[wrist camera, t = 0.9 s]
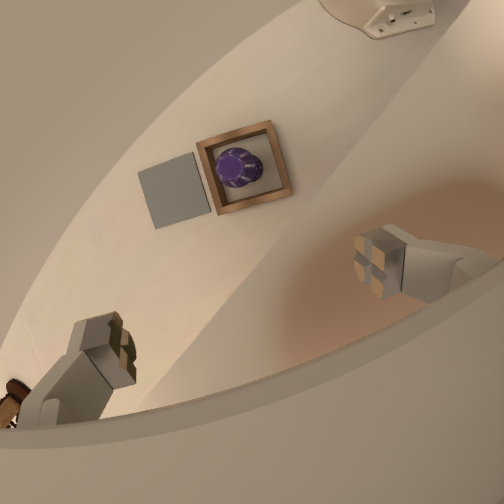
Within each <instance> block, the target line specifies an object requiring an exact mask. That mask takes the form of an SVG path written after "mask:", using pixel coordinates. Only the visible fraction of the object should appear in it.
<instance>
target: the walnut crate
mask: <svg viewBox="0 0 504 504" xmlns="http://www.w3.org/2000/svg"><path fill="white" fill-rule="evenodd" d="M266 132H267V134H268V138H269V141H270V144H271V147H272V151H273V154H274V157H275V161H276V164H277V167H278V171H279V174H280V178H281V181H282V185H283V188H280V189H276V190H272V191H269V192H265V193H262V194H258V195H255V196H251V197H248V198H244V199H241V200H237V201H234V202H230V203H228V202H227V199H226V195H225V192H224V189H223V185H222V182H221V181H220V180H219V178H218V177H217V174H216V170H215V166H216V163H215V159H214V156H213V153H212V149H214V148H217V147H220V146H223V145H226V144H229V143H232V142H236V141H239V140H242V139H246V138H249V137H252V136H256V135H259V134H263V133H266ZM196 146H197V149H198V152H199V156H200V159H201V162H202V166H203V169H204V172H205V175H206V179H207V182H208V185H209V188H210V192H211V195H212V198H213V201H214V205H215V208H216V211H217V214H218V216H219V215H223V214H226V213H229V212H233V211H236V210H240V209H243V208H247V207H250V206H254V205H257V204H261V203H264V202H268V201H272V200H275V199H279V198H283V197H286V196H290V195H293V193H292V189H291V186H290V182H289V179H288V175H287V172H286V168H285V165H284V161H283V158H282V155H281V151H280V148H279V145H278V141H277V138H276V135H275V132H274V128H273V125H272V122H271V120H268V121H264V122H260V123H257V124H253V125H250V126H247V127H243V128H240V129H237V130H233V131H230V132H227V133H224V134H221V135H218V136H215V137H212V138H209V139H206V140H203V141H200V142H197V143H196Z"/></svg>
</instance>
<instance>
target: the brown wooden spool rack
mask: <svg viewBox="0 0 504 504" xmlns="http://www.w3.org/2000/svg"><path fill="white" fill-rule="evenodd" d="M6 389H7V392H8V394H6V396H5V397H3V399H1V400H0V429H6V428H11V426H14V428H16V426H17V424H14V422H13V421H11V420H12V419H13V418H14V416H15V415H16V416H17V417H16V423H17V422H18V417H19V413H20V409H21V405H22V402H23V401H24V399H25V398H26V397H27V396H28V395H29V392H28V390H27V389H25V388H24V387H23V386H22V385H21V384H19V383H18V382H16V381H15V379H13V380H10V381H9V382H8V383H7V384H6ZM9 423H10V424H11V426H10V425H9Z"/></svg>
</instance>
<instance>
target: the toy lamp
mask: <svg viewBox="0 0 504 504" xmlns="http://www.w3.org/2000/svg"><path fill="white" fill-rule="evenodd" d="M215 170H216V174H217V177H218V178H219V180H220V181H221V182H222V183H223V184H225V185H226V186H229V187H233V188H239V187H243V186H245V185H247V184H248V183H249V182H253V181H256V180H258V179H259V178H260V176H261V175H262V172H263V165H262V163H261V161H260V160H259V159H258V158H257V157H255V156H253V155H251V153H250V152H248V151H247V150H245V149H242V148H237V147H235V148H229V149H227V150H225V151H224V152H222V153H221V154H220V156H219V157H218V159H217V161H216V166H215Z"/></svg>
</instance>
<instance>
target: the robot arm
mask: <svg viewBox="0 0 504 504" xmlns="http://www.w3.org/2000/svg"><path fill="white" fill-rule="evenodd" d="M320 2H321V4H322V5H323V6H324V8H325V9H326V10H327V11H328V12H329V13H330V14H331V15H333V16H334V17H335V18H337V19H339V20H340V21H342V22H344V23H346V24H349V25H351V26H354V27H356V28H359V29H361V30H362V31H363V32H364V33H365V34H367V35H368V36H369V37H371V38H373V39H376V40H378V39H382V38H385V37H389V36H392V35H396V34H400V33H404V32H408V31H412V30H416V29H420V28H425V27H429V26H433V25H434V24H435V20H436V17H435V11H434V7H433V0H320ZM429 12H430V13H429ZM379 30H381V31H382V33H381V32H380V31H379ZM354 248H355V249H356V251H357V254H356V256H355V258H354V266H355V270H356V273H357V275H358V277H359V279H360V280H361V281H362V282H363V283H366V284H369V285H371V290H372V291H373V292H374V293H375V294H376V295H377V296H378V297H379V298H380V299H381V300H383V299H386V298H388V297H390V296H393V295H395V294H397V293H400V292H401V293H403V294H405V295H408V296H411V297H414V298H416V299H419V300H421V301H424V302H426V303H429V305H427V306H425V307H424V308H422V309H420V310H418V311H416V312H414V313H412V314H410V315H409V316H407V317H405V318H403V319H401V320H399V321H397V322H395V323H393V324H391V325H389V326H387V327H385V328H383V329H381V330H379V331H376V332H374V333H372V334H370V335H368V336H366V337H364V338H362V339H359V340H357V341H355V342H353V343H350V344H348V345H346V346H343V347H341V348H339V349H337V350H334V351H332V352H329V353H327V354H325V355H322V356H320V357H317V358H315V359H312V360H310V361H308V362H305V363H302V364H300V365H297V366H295V367H292V368H289V369H287V370H284V371H281V372H278V373H276V374H273V375H270V376H267V377H264V378H261V379H258V380H255V381H252V382H249V383H247V384H244V385H240V386H238V387H234V388H231V389H227V390H224V391H221V392H217V393H214V394H211V395H207V396H204V397H200V398H196V399H192V400H189V401H185V402H181V403H177V404H173V405H169V406H165V407H161V408H156V409H151V410H147V411H142V412H137V413H132V414H127V415H122V416H116V417H110V418H105V419H99V418H100V416H101V414H102V412H103V410H104V408H105V406H106V404H107V402H108V401H109V399H110V397H111V395H112V393H113V390H115V389H119V388H123V387H127V386H130V385H134V384H136V367H135V366H134V364H133V363H134V361H135V360H136V348H135V344H134V341H133V339H132V336H131V335H130V333H129V331H127V330H125V329H123V328H122V326H123V320H122V319H121V317H120V315H119V314H118V313H117V312H116V311H114V312H110V313H107V314H103V315H99V316H95V317H92V318H89V319H88V318H87V319H84V320H81V321H78V322H76V323H75V324H74V327H73V331H72V334H71V338H70V341H69V345H68V349H67V352H66V355H63V356H61V358H60V359H59V360H58V361H57V362H56V363H55V364H54V365H53V367H52V368H51V369H50V370H49V371H48V372H47V373H46V375H45V376H44V377H43V378H42V379H41V380H40V382H39V383H38V384H37V385H36V386H35V387H34V389H33V390H32V391H31V392H30V393H29V395H28V396H27V397H26V398H25V399H24V401H23V402H22V405H21V409H20V413H19V417H18V422H17V426H16V428H6V429H0V504H504V258H503V259H502V260H500V261H499V262H498V261H497V260H495V259H494V258H492V257H491V256H489V255H488V254H486V253H485V252H483V251H481V250H480V249H476V248H471V247H465V246H460V245H454V244H449V243H443V242H437V241H431V240H425V239H422V240H418V239H417V238H415V237H413V236H412V235H411V234H409V233H407V232H406V231H404V230H402V229H401V228H399V227H397V226H395V225H394V224H387V225H384V226H382V227H379V228H377V229H374V230H371V231H369V232H366V233H363V234H360V235H358V236H355V239H354Z"/></svg>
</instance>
